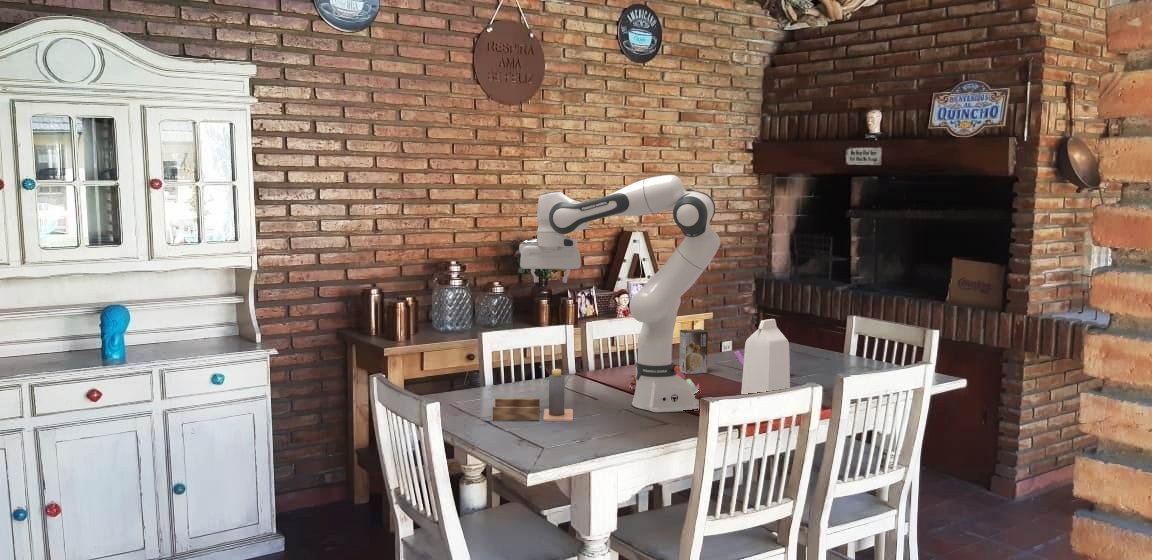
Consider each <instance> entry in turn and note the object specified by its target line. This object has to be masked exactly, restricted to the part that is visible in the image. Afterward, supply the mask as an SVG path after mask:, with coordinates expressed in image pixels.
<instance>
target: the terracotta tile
mask: <svg viewBox="0 0 1152 560" xmlns="http://www.w3.org/2000/svg"><path fill="white" fill-rule="evenodd" d="M543 422H574V410H573V408H564V415H562V416H551V415H549V408H544V410H543Z"/></svg>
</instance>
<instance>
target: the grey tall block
mask: <svg viewBox="0 0 1152 560" xmlns="http://www.w3.org/2000/svg"><path fill="white" fill-rule="evenodd" d="M548 409H549V415H551V416H562V415H564V409H565V375H564V374H562V368H561V369H560V368H552V369H551V374H550V375H549V376H548Z"/></svg>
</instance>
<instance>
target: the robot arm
mask: <svg viewBox="0 0 1152 560" xmlns="http://www.w3.org/2000/svg"><path fill="white" fill-rule="evenodd" d="M538 197H539V198H538V202H537V211H536V212H537V214H536V215H537V216H536V219H537V221H538V222H537V223H538V225H537V230H536V231H537V234H536V237H537V238H536V240H523V241H521V242H520V244H519V245H518V251H519V254H520V260H519V267H520V268H521V269H523V270H528V269H529V270H530V273H531V275H532V277H533V282H534V283H539V281H540V280H539V276H537V275H536V273H535V272H536V269H537V270H538V269H539V270H542V269H543V270H544V269H545V270H547V269H548V270H549V269H550V270H552V269H553V270H565V272H566V274H565V276H562V283H566V284H567V283H568V277H569V275H570V273H571V270H574V269H575V270H579V269H580V268H581V267H582V260H581V253H580V250H579V248H578V247H577V246H578V240H577V239H575V238H573V237H570V236H566V235H567V234H570V233H576V232H579V231H583V230H586V229H588V227H590V225H591V224H592V222H593V221H596V220H600V219H603V218H609V217H639V216H640V217H641V216H647V215H652V214H656V213H659V212H662V211H671V212H672V218H673V221H674V223H675V224H676V226H677V227H678V228H679V229H680V231H681V232H682V234H683V235H684V236H685V237H684V238H683V240H682V241H681V243H680V244H679V245H678V246H677V247H676V249H674V251H673V253H672V254H671V255H670V256H669V258H668V259H667V260H666V261H665V263H664V264H663V265H662V266H661V268H659V270H658V271H656V273H655V274H654V275H653V276H651V278H650V279H649V280H648V281H646V283H645V284H644V285H643V286H642V287H641V288H640V290H638V292H636V293H635V294H634V295H633V296H632V298H631V300H630V301H629V312H630V314H631V316H632V317H633V319H634V320H636V321H638V322H639V323H642V326H641V330H640V333H639V335H638V337H637V361H636V362H635V364H636V365H635V377H636V379H637V381H636V389H635V390H634V394H633V398H632V402H631V405H632V406H633V407H635V408H637V409H640V410H647V411H650V412H652V413H670V412H671V413H672V412H673V413H674V412H684V411H683V410H692V409H697V408H698V410H697V411H700V410H699V401H700V400H699V399H698V398H696V395H694V390H693V388H692V386H691V385H690V384H689V383H688V382H686V379H685V380H684V379H683V378H682V377H680V376H679V375H678V374H677V373H679V372H681V371H680V365H677V364H676V363H675V362H673V361H672V360H673V336H674V331H675V327H676V321H677V315H678V311H679V307H680V305H681V302H682V300H681V297H682V296H683V295H684V294H685V293H686V292H687V291H688V290H689V289H690V288H691V287H692V286H693V285H694V284H695V282H696V281H697V280H698V279H699V278H700V276H701V275H702V273H704V271H705V270H706V269H707V267H708V266H710V263H711V262H712V261H713V259H714V257H715V255H716V254H717V252H718V251H719V248H720V246H721V239H720V236H719V234H718V233H717V232H716V231H715V230H714V228H713V229H712V226H711V220H712V219H713V218H714V216H715V214H716V204H715V201H714V199H713V198H712V196H710V195H709V194H708V193H705V192H702V191H700V190H699V191H698V190H695V189H691V188H687V189H685V186H684V183H683V181H682V180H681V179H680V177H678V176H677V175H675V174H667V175H666V174H665V175H657V176H652V177H647V178H645V179H644V178H643V179H641V180H638V181H635V182H633V183H631V184H629V185H627V186H624V187H623V188H620V189H619V190H617V191H613V192H612V193H609V194H607V195H604V196H602V197H599V198H594V199H592V200H587V201H583V202H582V201H578V200H575V199H573V198H571V197H569V196H567V195H566V194H564V193H563V192H562V191H559V190H555V191H548V192H544V193H541V194H540V195H539V196H538Z"/></svg>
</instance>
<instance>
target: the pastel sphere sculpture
mask: <svg viewBox="0 0 1152 560" xmlns="http://www.w3.org/2000/svg"><path fill="white" fill-rule="evenodd" d="M677 374H678V375H679V376H680V377H682V378H683V379H684V380H685V381H686V382H688V383H689V384H690V385H691V386H692V388H693V390H694V394H695V393H697V392H698V391H699V390H698V389H700V383H697V385H696V384H695V383H694V382H693V381H692V379H691V378H687V379H686V376H685V374H684V373H683V372H681V371H680V372H679V373H677ZM636 381H637V379H636V376H635V377H634V378H633V380H632V382H630V385H629V389H630V388H631V389H630V391H631V390H633V391H635V389H636Z"/></svg>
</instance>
